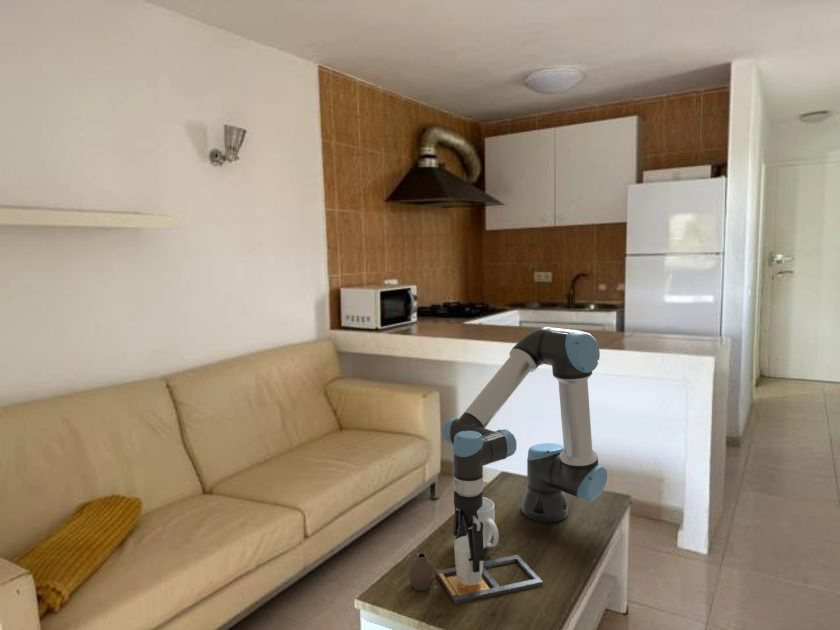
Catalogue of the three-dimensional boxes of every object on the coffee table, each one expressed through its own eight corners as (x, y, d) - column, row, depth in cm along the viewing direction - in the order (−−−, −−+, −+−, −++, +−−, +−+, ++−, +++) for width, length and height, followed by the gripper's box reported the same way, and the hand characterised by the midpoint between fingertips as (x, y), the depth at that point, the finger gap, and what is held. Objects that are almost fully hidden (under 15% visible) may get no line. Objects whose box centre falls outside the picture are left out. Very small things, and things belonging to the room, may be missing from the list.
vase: (412, 596, 147) (412, 564, 146) (405, 581, 153) (405, 550, 152) (438, 591, 149) (438, 559, 148) (430, 576, 155) (430, 546, 154)
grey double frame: (517, 557, 164) (517, 554, 164) (542, 585, 151) (542, 580, 151) (436, 574, 157) (436, 570, 156) (455, 604, 143) (455, 599, 143)
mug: (511, 552, 167) (511, 510, 166) (482, 564, 161) (482, 521, 159) (477, 532, 179) (478, 492, 178) (450, 542, 173) (450, 501, 172)
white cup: (448, 578, 152) (447, 543, 151) (468, 566, 157) (467, 532, 156) (470, 591, 146) (470, 554, 145) (490, 578, 152) (490, 542, 151)
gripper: (441, 478, 157) (441, 555, 160) (470, 510, 138) (470, 598, 141) (466, 474, 160) (466, 551, 162) (498, 505, 140) (498, 592, 143)
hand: (468, 572), depth 152 cm, fingers closed on white cup, 8 cm apart
